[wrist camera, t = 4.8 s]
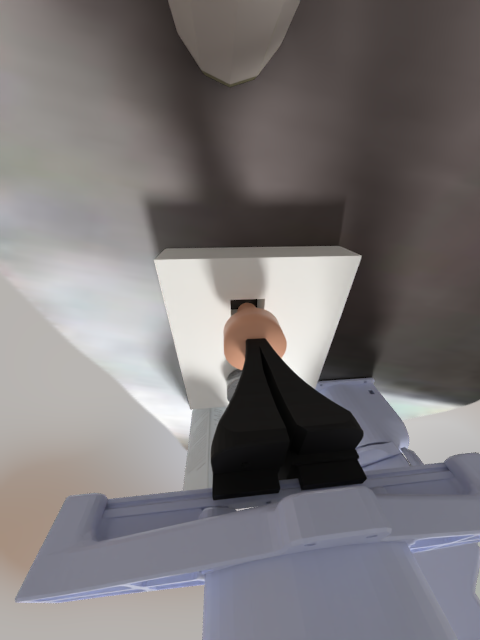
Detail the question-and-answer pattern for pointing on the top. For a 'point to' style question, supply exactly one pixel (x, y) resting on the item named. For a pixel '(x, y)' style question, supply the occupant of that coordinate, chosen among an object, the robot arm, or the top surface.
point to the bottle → (232, 34)
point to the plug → (232, 382)
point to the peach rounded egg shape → (251, 333)
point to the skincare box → (201, 448)
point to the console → (272, 295)
